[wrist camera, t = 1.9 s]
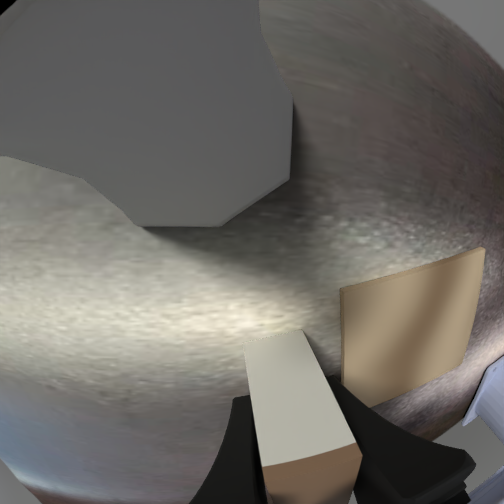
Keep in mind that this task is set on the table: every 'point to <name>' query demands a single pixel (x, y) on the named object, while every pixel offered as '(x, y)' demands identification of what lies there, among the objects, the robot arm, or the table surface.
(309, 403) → the cream slab
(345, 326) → the cork mat
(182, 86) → the flask
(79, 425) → the table surface
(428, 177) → the table surface
